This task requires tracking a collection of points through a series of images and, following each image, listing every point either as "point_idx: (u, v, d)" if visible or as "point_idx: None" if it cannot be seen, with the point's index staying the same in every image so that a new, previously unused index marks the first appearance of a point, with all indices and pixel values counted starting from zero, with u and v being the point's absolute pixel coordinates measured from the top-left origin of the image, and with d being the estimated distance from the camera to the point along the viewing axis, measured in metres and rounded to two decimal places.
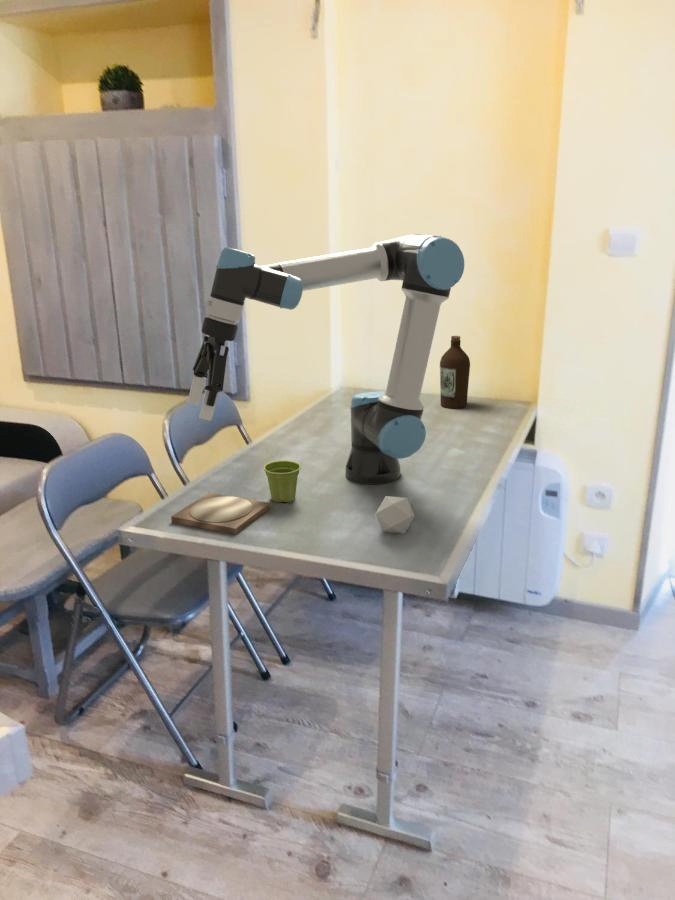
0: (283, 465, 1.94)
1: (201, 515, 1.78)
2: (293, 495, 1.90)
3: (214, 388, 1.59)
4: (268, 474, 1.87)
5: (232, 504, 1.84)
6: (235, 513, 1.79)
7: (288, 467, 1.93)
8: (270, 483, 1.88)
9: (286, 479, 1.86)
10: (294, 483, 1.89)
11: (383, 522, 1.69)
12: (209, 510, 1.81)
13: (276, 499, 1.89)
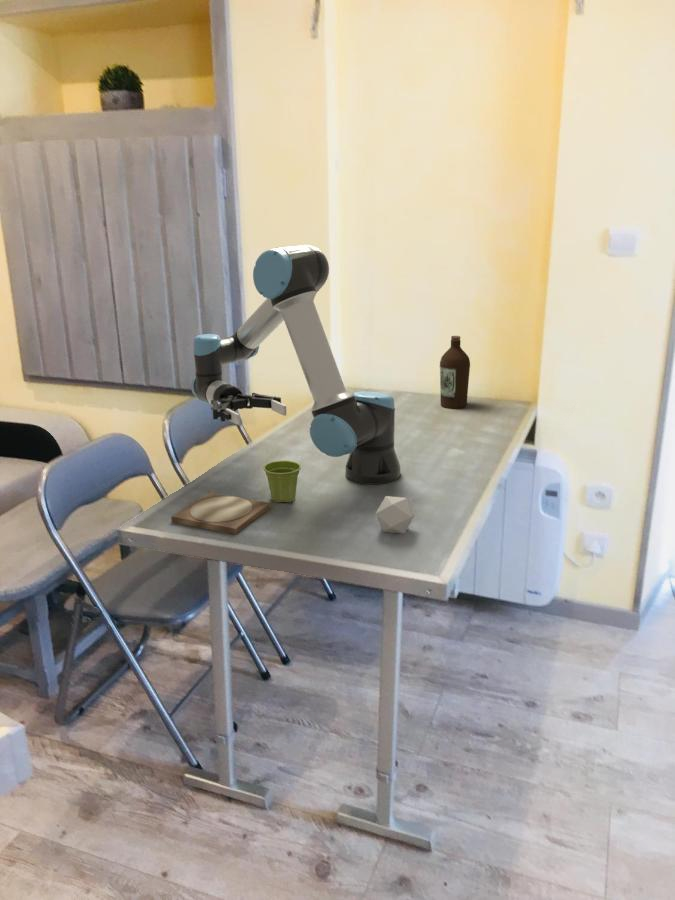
0: (283, 465, 1.94)
1: (201, 515, 1.78)
2: (293, 495, 1.90)
3: (214, 416, 1.93)
4: (268, 474, 1.87)
5: (232, 504, 1.84)
6: (235, 513, 1.79)
7: (288, 467, 1.93)
8: (270, 483, 1.88)
9: (286, 479, 1.86)
10: (294, 483, 1.89)
11: (383, 522, 1.69)
12: (209, 510, 1.81)
13: (276, 499, 1.89)
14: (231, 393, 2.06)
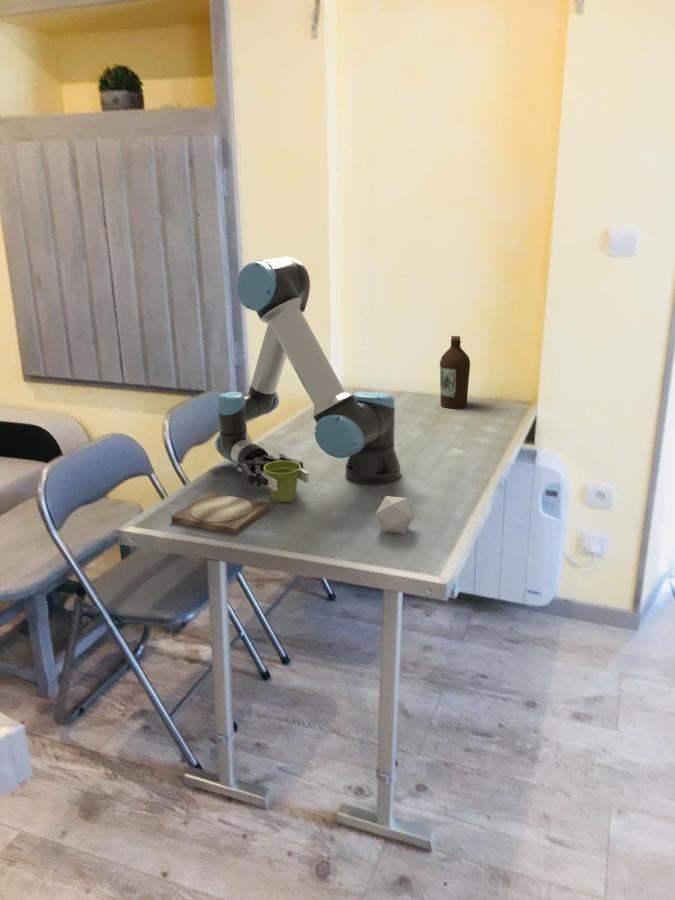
0: (283, 465, 1.94)
1: (201, 515, 1.78)
2: (293, 495, 1.90)
3: (250, 481, 1.89)
4: (268, 474, 1.87)
5: (232, 504, 1.84)
6: (235, 513, 1.79)
7: (288, 467, 1.93)
8: None
9: (286, 479, 1.86)
10: (294, 483, 1.89)
11: (383, 522, 1.69)
12: (209, 510, 1.81)
13: (276, 499, 1.89)
14: (256, 454, 2.01)
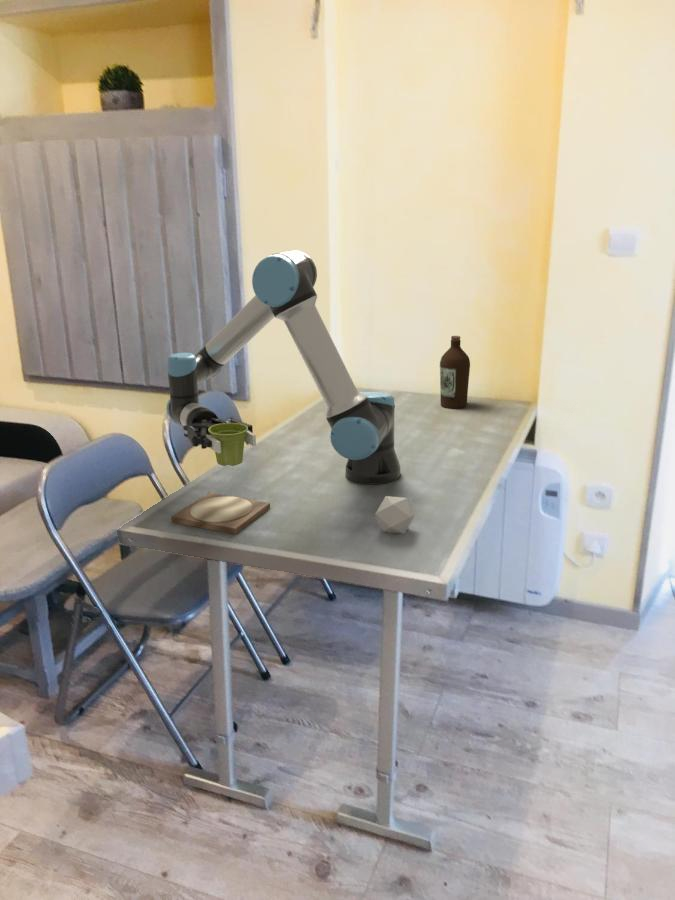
0: (231, 428, 1.83)
1: (201, 515, 1.78)
2: (239, 459, 1.80)
3: (193, 443, 1.78)
4: (212, 435, 1.77)
5: (232, 504, 1.84)
6: (235, 513, 1.79)
7: (236, 430, 1.83)
8: None
9: (231, 441, 1.76)
10: (240, 446, 1.78)
11: (383, 522, 1.69)
12: (209, 510, 1.81)
13: (221, 462, 1.79)
14: (205, 417, 1.91)
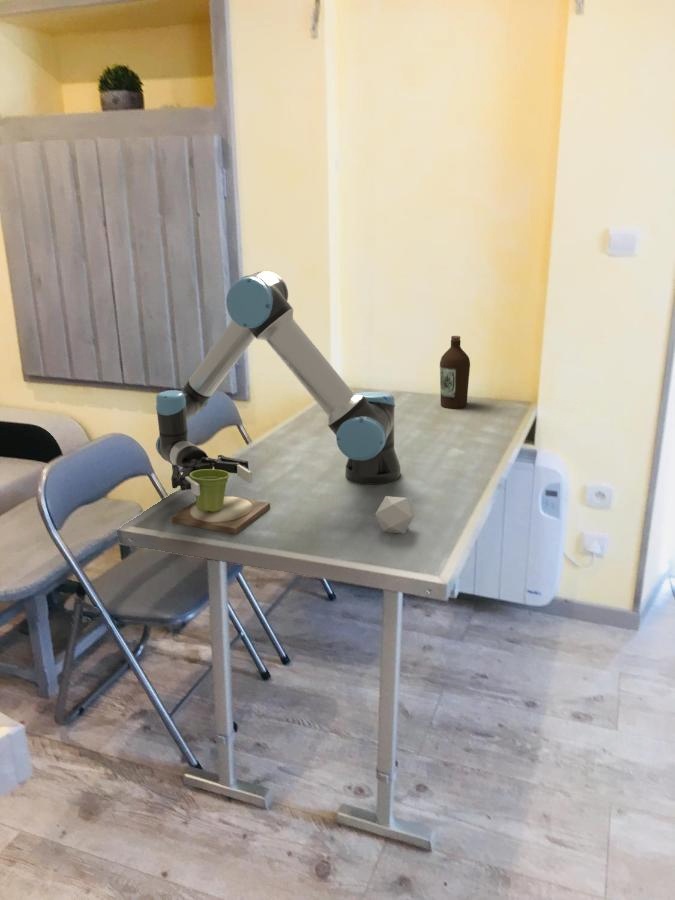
0: (213, 474, 1.84)
1: (201, 515, 1.78)
2: (220, 505, 1.79)
3: (172, 485, 1.78)
4: (194, 480, 1.77)
5: (232, 504, 1.84)
6: (235, 513, 1.79)
7: (218, 476, 1.83)
8: None
9: (212, 486, 1.76)
10: (221, 492, 1.78)
11: (383, 522, 1.69)
12: None
13: (201, 508, 1.79)
14: (195, 456, 1.90)
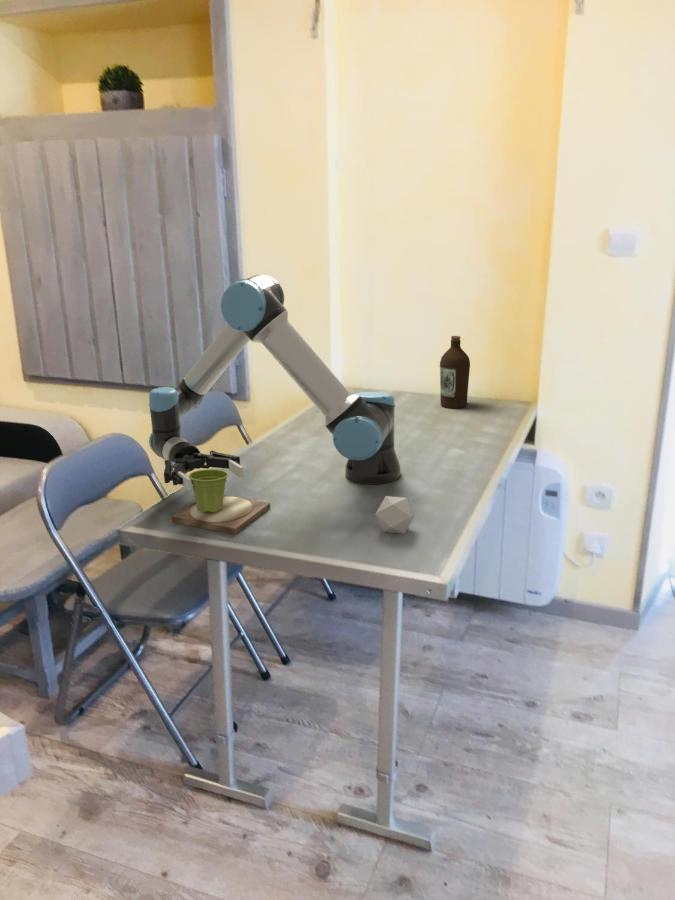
0: (212, 474, 1.84)
1: (201, 515, 1.78)
2: (219, 505, 1.79)
3: (165, 480, 1.81)
4: (192, 481, 1.77)
5: (232, 504, 1.84)
6: (235, 513, 1.79)
7: (217, 476, 1.83)
8: (195, 491, 1.78)
9: (211, 487, 1.76)
10: (220, 492, 1.78)
11: (383, 522, 1.69)
12: None
13: (201, 509, 1.79)
14: (187, 452, 1.93)
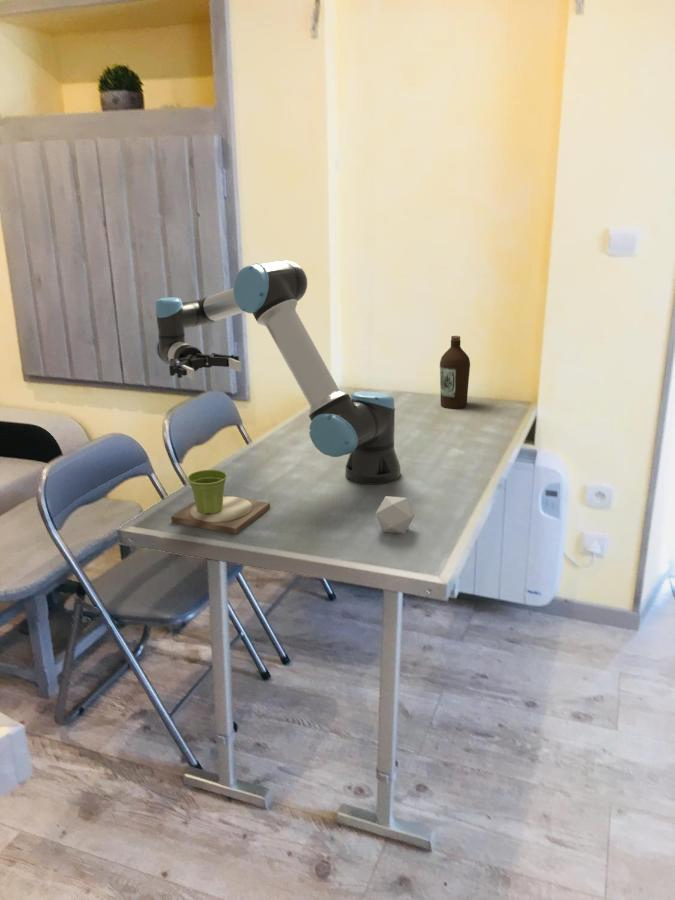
0: (211, 475, 1.83)
1: (201, 515, 1.78)
2: (219, 506, 1.79)
3: (170, 373, 1.98)
4: (191, 484, 1.77)
5: (232, 504, 1.84)
6: (235, 513, 1.79)
7: (216, 476, 1.83)
8: (194, 494, 1.78)
9: (210, 490, 1.76)
10: (219, 494, 1.78)
11: (383, 522, 1.69)
12: None
13: (201, 511, 1.79)
14: (191, 353, 2.10)
